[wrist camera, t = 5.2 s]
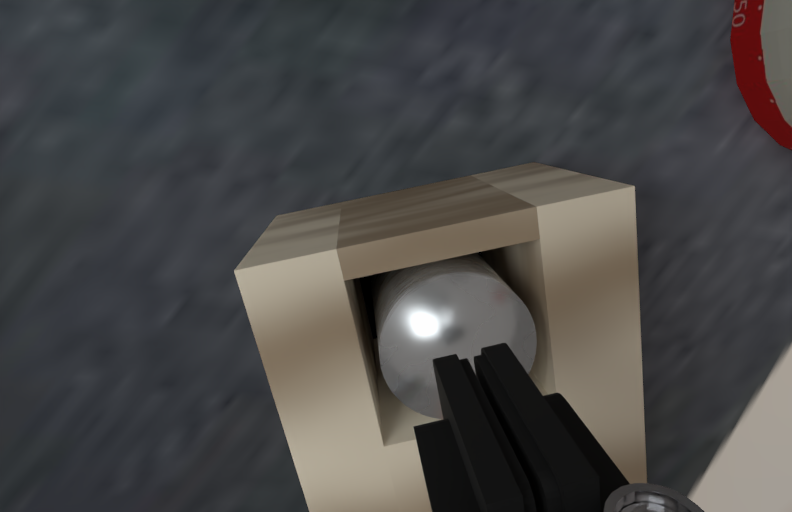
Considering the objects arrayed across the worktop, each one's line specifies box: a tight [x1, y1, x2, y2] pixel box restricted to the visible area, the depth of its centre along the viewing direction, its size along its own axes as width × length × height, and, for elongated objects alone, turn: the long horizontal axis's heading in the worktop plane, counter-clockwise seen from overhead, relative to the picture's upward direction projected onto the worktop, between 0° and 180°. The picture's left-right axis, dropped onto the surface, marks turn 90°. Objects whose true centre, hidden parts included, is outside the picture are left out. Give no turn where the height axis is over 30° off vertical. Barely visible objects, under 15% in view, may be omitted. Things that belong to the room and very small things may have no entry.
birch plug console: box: [234, 162, 647, 512], centre depth 21 cm, size 21×12×8 cm, turn 11°
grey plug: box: [370, 253, 537, 419], centre depth 18 cm, size 5×5×8 cm
